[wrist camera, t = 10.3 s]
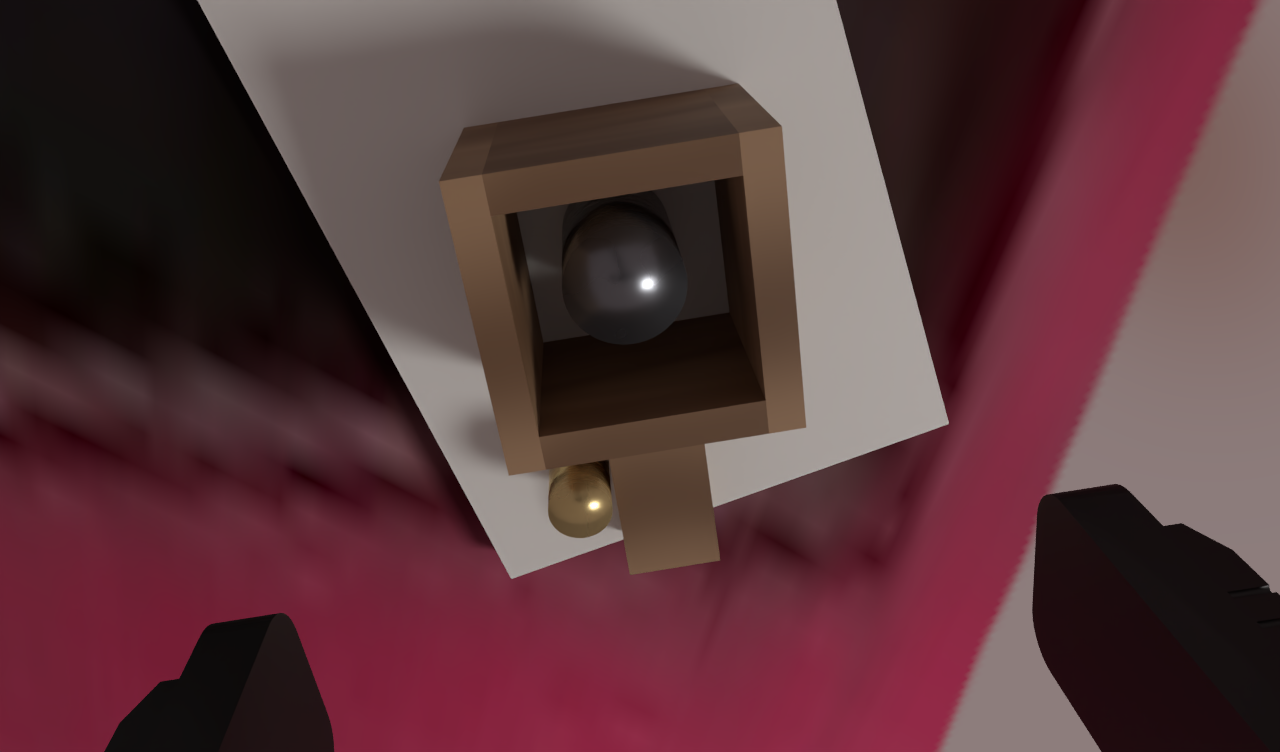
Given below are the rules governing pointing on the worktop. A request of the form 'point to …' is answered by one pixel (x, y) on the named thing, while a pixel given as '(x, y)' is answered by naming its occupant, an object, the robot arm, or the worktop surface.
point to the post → (621, 268)
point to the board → (550, 83)
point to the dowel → (580, 499)
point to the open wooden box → (650, 370)
